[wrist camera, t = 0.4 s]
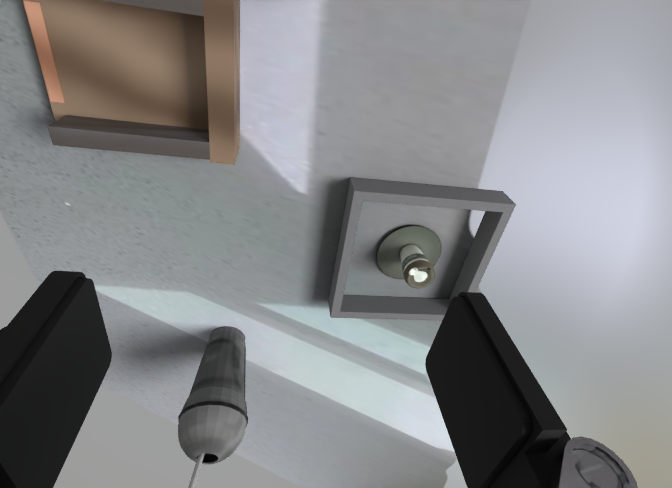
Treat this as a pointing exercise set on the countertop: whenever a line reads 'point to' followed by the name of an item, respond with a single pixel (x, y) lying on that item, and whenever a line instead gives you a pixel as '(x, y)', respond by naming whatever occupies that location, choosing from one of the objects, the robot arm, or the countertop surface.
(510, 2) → the countertop surface
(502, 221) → the grey shallow square tray
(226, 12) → the wooden divided tray
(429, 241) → the coffee cup
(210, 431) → the beverage cup
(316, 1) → the countertop surface
